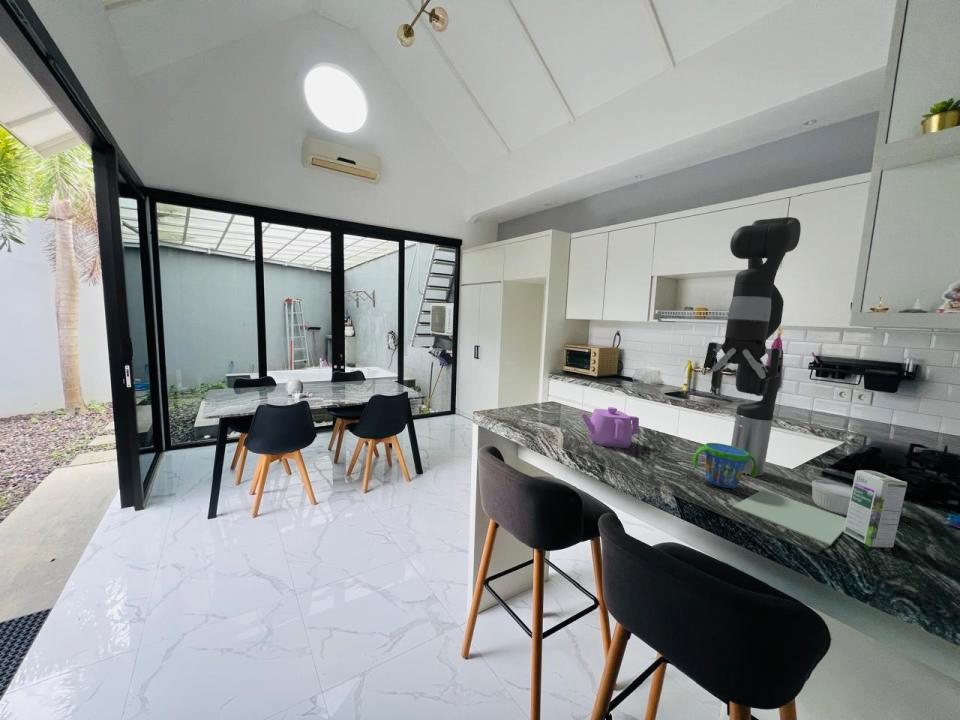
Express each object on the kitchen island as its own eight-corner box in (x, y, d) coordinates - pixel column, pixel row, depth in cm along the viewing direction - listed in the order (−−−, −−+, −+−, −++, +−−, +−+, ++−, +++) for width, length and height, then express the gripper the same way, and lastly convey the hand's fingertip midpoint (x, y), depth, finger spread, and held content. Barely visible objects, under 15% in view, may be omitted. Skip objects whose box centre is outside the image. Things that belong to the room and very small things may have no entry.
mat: (762, 491, 106) (762, 489, 106) (851, 521, 92) (852, 520, 92) (732, 507, 94) (732, 505, 94) (830, 545, 80) (830, 543, 80)
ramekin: (830, 497, 106) (833, 479, 105) (879, 519, 95) (883, 498, 94) (797, 498, 103) (800, 479, 103) (844, 520, 92) (848, 499, 92)
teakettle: (620, 452, 129) (625, 416, 128) (575, 438, 141) (579, 405, 140) (641, 443, 141) (645, 410, 140) (598, 431, 153) (602, 400, 152)
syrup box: (841, 532, 86) (854, 469, 84) (865, 533, 87) (878, 470, 85) (869, 547, 80) (883, 480, 79) (895, 548, 81) (909, 481, 79)
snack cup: (747, 482, 111) (753, 448, 110) (760, 497, 101) (766, 460, 100) (686, 471, 116) (691, 438, 115) (693, 484, 106) (698, 448, 105)
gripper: (794, 321, 81) (781, 397, 83) (721, 318, 93) (711, 385, 95) (780, 319, 77) (767, 399, 79) (706, 316, 89) (695, 386, 90)
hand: (736, 391), depth 87 cm, fingers open, 8 cm apart
